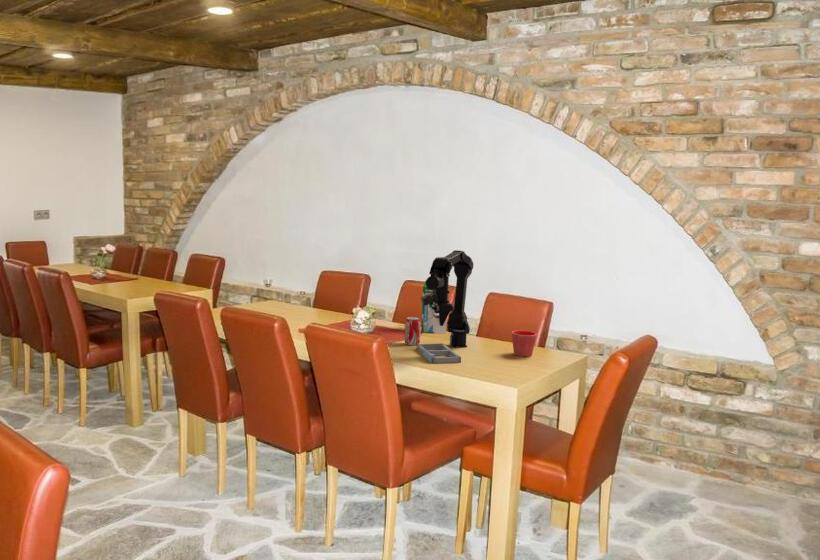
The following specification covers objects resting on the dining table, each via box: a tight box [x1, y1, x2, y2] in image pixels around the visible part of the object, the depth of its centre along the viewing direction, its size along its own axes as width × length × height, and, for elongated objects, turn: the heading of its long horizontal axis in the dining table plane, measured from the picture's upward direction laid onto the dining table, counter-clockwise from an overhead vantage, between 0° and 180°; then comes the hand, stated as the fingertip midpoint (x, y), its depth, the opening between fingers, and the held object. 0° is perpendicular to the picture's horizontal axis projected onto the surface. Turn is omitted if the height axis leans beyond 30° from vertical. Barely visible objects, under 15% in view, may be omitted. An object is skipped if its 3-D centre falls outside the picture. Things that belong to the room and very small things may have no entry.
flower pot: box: [511, 330, 537, 357], centre depth 301 cm, size 11×11×10 cm
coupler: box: [433, 313, 448, 335], centre depth 293 cm, size 5×5×8 cm
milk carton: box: [420, 280, 435, 334], centre depth 347 cm, size 9×9×25 cm
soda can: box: [404, 316, 422, 346], centre depth 316 cm, size 7×7×12 cm
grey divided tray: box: [416, 343, 462, 364], centre depth 296 cm, size 12×26×3 cm, turn 14°
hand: (439, 324), depth 293 cm, fingers closed on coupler, 4 cm apart
